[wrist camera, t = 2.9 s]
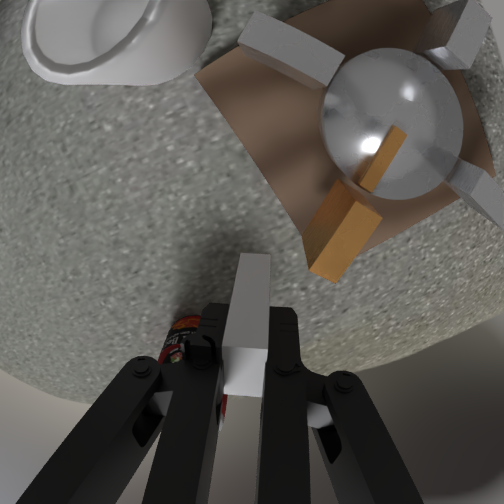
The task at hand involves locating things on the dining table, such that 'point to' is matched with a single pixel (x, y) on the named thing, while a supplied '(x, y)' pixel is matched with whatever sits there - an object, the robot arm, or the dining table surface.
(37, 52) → the mug
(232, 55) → the wooden base plate
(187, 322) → the canned food
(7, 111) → the dining table surface
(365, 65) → the silver spoked hub
